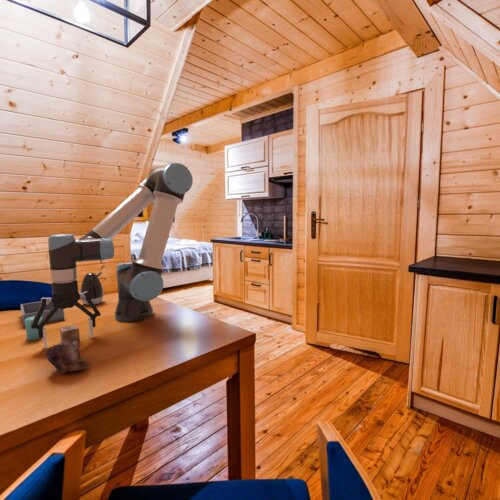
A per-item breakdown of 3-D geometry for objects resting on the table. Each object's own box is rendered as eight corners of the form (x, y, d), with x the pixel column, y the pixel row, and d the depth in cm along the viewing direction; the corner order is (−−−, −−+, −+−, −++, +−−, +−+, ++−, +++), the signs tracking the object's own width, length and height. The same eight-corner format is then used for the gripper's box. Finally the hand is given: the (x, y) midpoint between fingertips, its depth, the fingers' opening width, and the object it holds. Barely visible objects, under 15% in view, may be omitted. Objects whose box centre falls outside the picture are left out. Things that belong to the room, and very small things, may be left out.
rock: (84, 361, 95) (45, 370, 89) (82, 333, 96) (43, 341, 90) (91, 371, 86) (48, 382, 80) (89, 340, 86) (46, 348, 80)
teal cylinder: (46, 334, 114) (44, 315, 113) (39, 339, 109) (37, 320, 108) (31, 335, 113) (29, 316, 112) (23, 340, 108) (21, 321, 107)
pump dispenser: (109, 302, 153) (107, 271, 151) (88, 308, 144) (86, 275, 142) (96, 299, 158) (94, 269, 156) (76, 304, 149) (73, 273, 147)
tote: (64, 319, 129) (63, 307, 128) (23, 327, 120) (22, 315, 120) (58, 309, 142) (57, 298, 142) (21, 315, 134) (20, 304, 133)
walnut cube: (77, 337, 110) (76, 324, 110) (80, 342, 106) (78, 328, 106) (60, 341, 107) (59, 327, 107) (63, 346, 103) (61, 331, 103)
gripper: (102, 274, 115) (105, 329, 117) (17, 284, 99) (23, 347, 102) (107, 277, 109) (110, 335, 111) (18, 288, 93) (24, 355, 96)
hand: (69, 341), depth 107 cm, fingers open, 13 cm apart
